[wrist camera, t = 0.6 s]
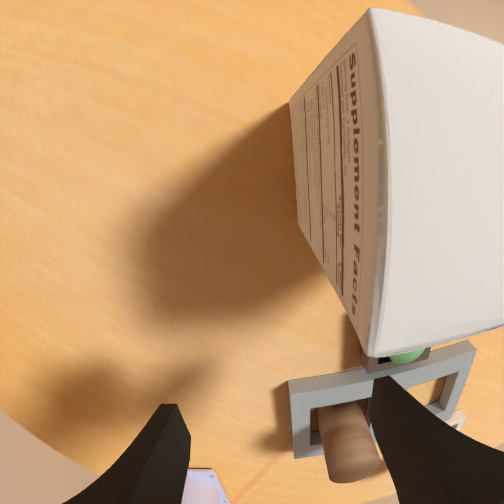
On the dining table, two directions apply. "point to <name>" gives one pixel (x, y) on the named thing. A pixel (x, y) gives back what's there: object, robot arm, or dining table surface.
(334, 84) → the supplement box
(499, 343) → the dining table surface
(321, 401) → the grey frame
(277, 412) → the dining table surface
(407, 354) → the button
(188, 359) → the dining table surface
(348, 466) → the cylinder
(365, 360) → the switch box
